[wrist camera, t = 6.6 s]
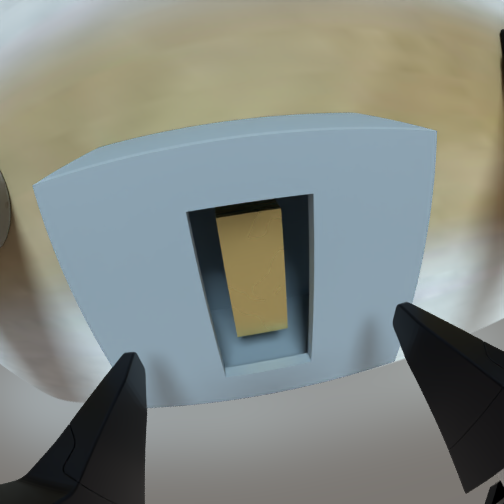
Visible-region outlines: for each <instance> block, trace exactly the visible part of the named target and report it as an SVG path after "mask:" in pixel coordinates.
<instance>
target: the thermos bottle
mask: <svg viewBox="0 0 504 504" xmlns="http://www.w3.org/2000/svg"><path fill="white" fill-rule="evenodd" d="M10 218H11V217H10V201H9V195H8V191H7V187H6V183H5V181H4V179H3V176H2V174H1V172H0V247H1V246H2V245H3V243H4V241H5V239H6V237H7V234H8V230H9V226H10Z"/></svg>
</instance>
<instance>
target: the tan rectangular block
mask: <svg viewBox="0 0 504 504" xmlns="http://www.w3.org/2000/svg"><path fill="white" fill-rule="evenodd" d="M215 214H216V222H217V228H218V234H219V240H220V245H221V251H222V257H223V262H224V268H225V274H226V279H227V284H228V290H229V295H230V300H231V306H232V311H233V316H234V321H235V327H236V332H237V337H242V336H248V335H253V334H259V333H265V332H270V331H276V330H281V329H286V328H288V320H287V298H286V279H285V261H284V245H283V229H282V215H281V207H280V206H279V204H278V203H277V201H276V200H275V198H274V199H267V200H259V201H252V202H245V203H239V204H232V205H226V206H219V207H215Z"/></svg>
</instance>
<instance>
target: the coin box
mask: <svg viewBox="0 0 504 504" xmlns="http://www.w3.org/2000/svg"><path fill="white" fill-rule="evenodd" d="M436 143H437V131H435V130H431V129H428V128H424V127H420V126H416V125H412V124H408V123H403V122H399V121H394V120H390V119H385V118H380V117H375V116H370V115H364V114H358V113H319V114H298V115H283V116H271V117H260V118H250V119H241V120H233V121H226V122H218V123H212V124H205V125H199V126H193V127H187V128H182V129H176V130H171V131H166V132H161V133H156V134H151V135H147V136H142V137H138V138H134V139H130V140H126V141H122V142H118V143H114V144H110V145H106V146H103V147H99V148H97V149H95V150H93V151H91V152H89V153H87V154H85V155H83V156H81V157H80V158H78V159H76V160H74V161H72V162H71V163H69V164H67V165H65V166H64V167H62V168H60V169H58V170H57V171H55V172H53V173H52V174H50V175H48V176H47V177H45V178H44V179H42V180H40V181H39V182H37V183H36V184H34V185H33V189H34V193H35V196H36V199H37V203H38V206H39V209H40V212H41V215H42V218H43V221H44V224H45V227H46V230H47V233H48V235H49V238H50V241H51V243H52V246H53V249H54V251H55V254H56V256H57V259H58V261H59V264H60V266H61V268H62V271H63V273H64V275H65V278H66V280H67V282H68V284H69V287H70V289H71V291H72V293H73V295H74V297H75V299H76V302H77V304H78V306H79V308H80V310H81V312H82V314H83V316H84V318H85V320H86V321H87V323H88V325H89V327H90V329H91V331H92V333H93V335H94V336H95V338H96V340H97V342H98V344H99V345H100V347H101V349H102V351H103V352H104V354H105V356H106V357H107V359H108V361H109V362H110V364H111V366H112V367H113V366H114V365H115V363H116V362H117V361H118V360H119V358H120V357H121V356H122V354H124V353H125V352H136V353H137V354H138V356H139V358H140V360H141V362H142V364H143V366H144V368H145V373H146V399H147V408H153V407H155V408H156V407H171V406H184V405H195V404H205V403H213V402H221V401H229V400H236V399H241V398H249V397H255V396H261V395H266V394H272V393H277V392H282V391H287V390H292V389H296V388H301V387H305V386H310V385H314V384H318V383H322V382H326V381H330V380H334V379H338V378H341V377H345V376H348V375H352V374H355V373H359V372H362V371H366V370H369V369H372V368H375V367H378V366H382V365H385V364H388V363H391V362H394V361H395V358H396V356H397V353H398V350H399V347H400V343H399V340H398V338H397V335H396V333H395V330H394V328H393V317H394V313H395V309H396V306H397V305H398V304H400V303H404V302H409V303H411V304H412V302H413V298H414V294H415V290H416V286H417V282H418V277H419V273H420V268H421V264H422V259H423V254H424V248H425V243H426V237H427V231H428V225H429V218H430V211H431V203H432V195H433V185H434V175H435V162H436ZM274 198H275V200H276V201H277V203H278V204H279V206H280V207H281V215H282V229H283V245H284V261H285V279H286V298H287V320H288V328H286V329H281V330H276V331H270V332H265V333H259V334H253V335H248V336H242V337H237V332H236V327H235V321H234V316H233V311H232V306H231V300H230V295H229V290H228V284H227V279H226V274H225V268H224V262H223V257H222V251H221V245H220V240H219V234H218V228H217V222H216V214H215V207H219V206H226V205H232V204H239V203H245V202H252V201H259V200H267V199H274Z"/></svg>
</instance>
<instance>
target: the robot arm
mask: <svg viewBox="0 0 504 504" xmlns="http://www.w3.org/2000/svg"><path fill="white" fill-rule="evenodd" d="M501 36H502V43H503V51H504V29H502V30H501ZM393 328H394V330H395V333H396V335H397V338H398V340H399V343H400V345H401V348H402V350H403V353H404V356H405V358H406V360H407V363H408V365H409V366H410V369H411V371H412V372H413V374H414V376H415V378H416V380H417V382H418V384H419V386H420V388H421V391H422V392H423V395H424V397H425V399H426V401H427V403H428V405H429V407H430V409H431V412H432V414H433V416H434V418H435V420H436V422H437V424H438V427H439V429H440V431H441V434H442V436H443V438H444V441H445V443H446V445H447V448H448V450H449V453H450V455H451V458H452V460H453V463H454V465H455V468H456V470H457V473H458V475H459V478H460V481H461V483H462V486H463V489H464V491H465V493H468V492H470V491H472V490H473V489H475V488H476V487H478V486H479V485H481V484H482V483H484V482H485V481H487V480H488V479H490V478H491V477H493V476H494V475H496V474H498V476H499V478H500V480H499V481H498V482H496V483H495V484H494V485H493V486H491V487H490V489H489V492H488V495H487V499H486V502H485V504H504V351H502V350H500V349H498V348H496V347H494V346H492V345H490V344H488V343H486V342H483V341H482V340H481V339H479V338H477V337H474V336H473V335H471V334H469V333H467V332H465V331H463V330H462V329H460V328H458V327H456V326H454V325H452V324H450V323H448V322H446V321H444V320H442V319H440V318H438V317H437V316H435V315H433V314H431V313H429V312H427V311H425V310H423V309H421V308H419V307H417V306H415V305H413V304H411V303H409V302H404V303H400V304H398V305H397V306H396V309H395V313H394V317H393ZM146 423H147V399H146V373H145V368H144V366H143V364H142V362H141V360H140V358H139V356H138V354H137V353H136V352H125V353H124V354H122V356H121V357H120V358H119V360H118V361H117V362H116V363H115V365H114V366H113V367H112V368H111V370H110V371H109V372H108V374H107V375H106V376H105V377H104V379H103V380H102V381H101V383H100V384H99V385H98V386H97V388H96V389H95V390H94V392H93V393H92V394H91V396H90V397H89V398H88V399H87V401H86V402H85V403H84V405H83V406H82V407H81V409H80V410H79V411H78V413H77V414H76V415H75V417H74V418H73V419H72V421H71V422H70V425H68V426H67V428H66V429H65V430H64V432H63V433H62V434H61V435H60V437H59V438H58V439H57V441H56V442H55V443H54V444H53V445H52V446H51V448H50V449H49V450H48V451H47V453H45V455H44V456H43V457H42V458H41V459H40V460H39V461H38V462H37V463H36V464H35V466H34V467H33V468H32V469H31V470H30V471H29V472H28V473H27V474H26V475H25V476H23V477H22V478H20V479H18V480H16V481H12V482H8V483H5V484H0V504H145V493H144V492H145V486H144V485H145V443H146Z"/></svg>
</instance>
